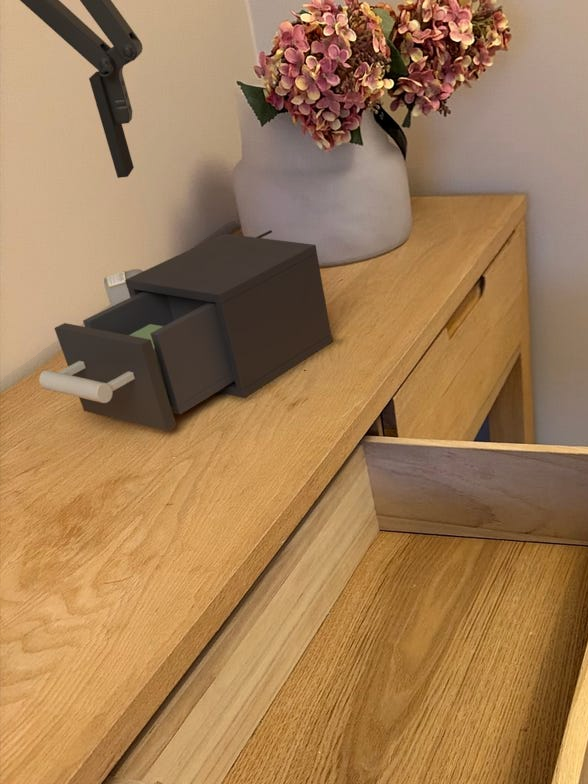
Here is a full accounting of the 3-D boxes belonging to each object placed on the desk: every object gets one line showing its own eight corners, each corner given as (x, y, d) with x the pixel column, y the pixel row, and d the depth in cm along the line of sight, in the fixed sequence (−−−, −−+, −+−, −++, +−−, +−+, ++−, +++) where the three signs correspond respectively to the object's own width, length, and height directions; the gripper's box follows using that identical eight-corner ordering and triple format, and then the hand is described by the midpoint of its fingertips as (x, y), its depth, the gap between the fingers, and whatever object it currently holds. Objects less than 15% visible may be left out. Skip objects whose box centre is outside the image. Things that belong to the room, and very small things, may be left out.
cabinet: (244, 397, 91) (219, 294, 85) (154, 378, 96) (124, 279, 90) (332, 341, 100) (315, 244, 93) (245, 326, 104) (224, 233, 98)
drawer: (130, 454, 82) (100, 366, 77) (46, 432, 86) (13, 347, 81) (260, 373, 93) (241, 291, 88) (180, 357, 97) (157, 278, 92)
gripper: (-332, -169, 57) (-155, 215, 70) (102, -210, 58) (195, 177, 71) (-270, -167, 63) (-117, 187, 76) (124, -204, 63) (206, 152, 77)
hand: (34, 183), depth 74 cm, fingers open, 13 cm apart
